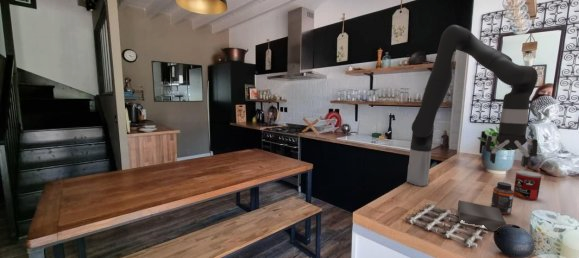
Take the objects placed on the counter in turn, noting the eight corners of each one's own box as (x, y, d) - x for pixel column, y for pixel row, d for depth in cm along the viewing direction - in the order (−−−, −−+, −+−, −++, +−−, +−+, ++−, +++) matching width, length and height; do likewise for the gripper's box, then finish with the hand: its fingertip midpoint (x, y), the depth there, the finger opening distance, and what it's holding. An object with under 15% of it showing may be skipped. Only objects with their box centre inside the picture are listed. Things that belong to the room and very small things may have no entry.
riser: (458, 223, 85) (460, 212, 84) (457, 210, 95) (458, 200, 94) (504, 234, 78) (505, 222, 78) (497, 218, 88) (499, 208, 88)
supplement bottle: (514, 216, 91) (519, 187, 89) (496, 214, 92) (500, 185, 90) (504, 209, 96) (508, 181, 95) (487, 207, 98) (490, 180, 96)
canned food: (508, 193, 112) (511, 170, 111) (524, 193, 113) (527, 170, 111) (525, 201, 105) (529, 176, 103) (542, 200, 105) (546, 176, 104)
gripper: (536, 122, 89) (530, 165, 91) (487, 119, 96) (482, 159, 99) (543, 123, 83) (536, 170, 85) (490, 121, 90) (484, 163, 92)
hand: (507, 164), depth 92 cm, fingers open, 8 cm apart
